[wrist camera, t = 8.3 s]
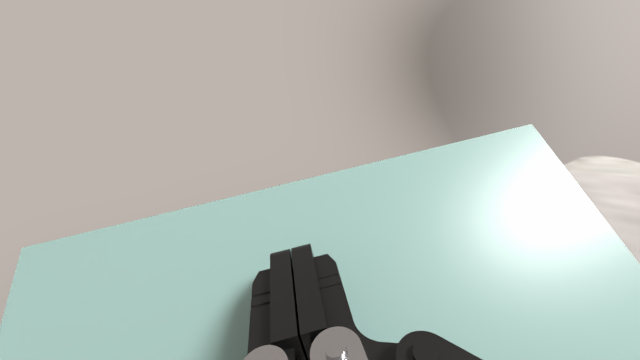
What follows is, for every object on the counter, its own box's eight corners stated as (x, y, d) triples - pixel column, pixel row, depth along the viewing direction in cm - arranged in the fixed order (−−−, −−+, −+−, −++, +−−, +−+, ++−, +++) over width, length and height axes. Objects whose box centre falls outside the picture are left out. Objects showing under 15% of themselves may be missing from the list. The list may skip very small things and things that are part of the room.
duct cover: (521, 136, 15) (531, 124, 14) (802, 525, 8) (857, 547, 7) (42, 254, 14) (21, 248, 13) (-92, 816, 7) (-152, 882, 6)
